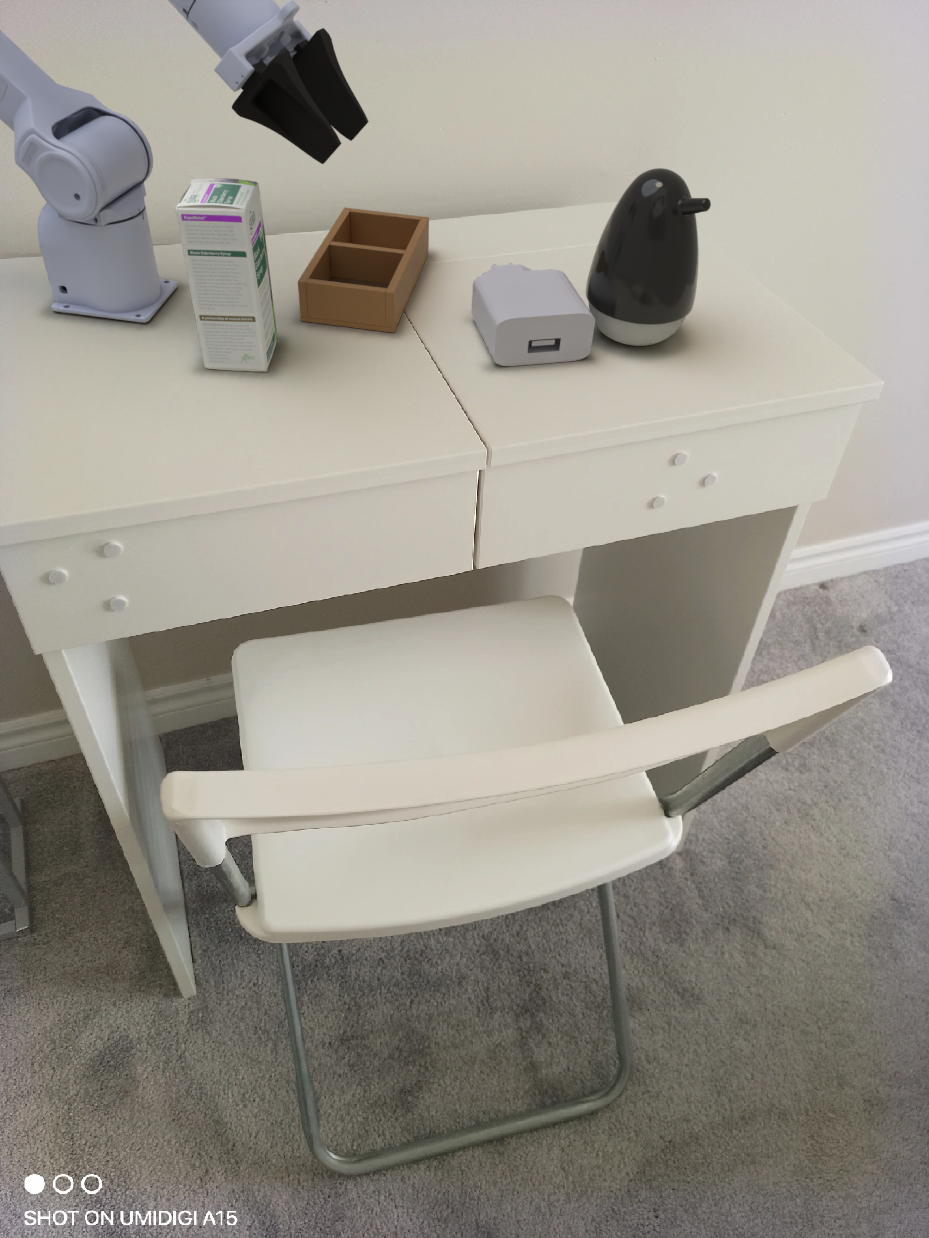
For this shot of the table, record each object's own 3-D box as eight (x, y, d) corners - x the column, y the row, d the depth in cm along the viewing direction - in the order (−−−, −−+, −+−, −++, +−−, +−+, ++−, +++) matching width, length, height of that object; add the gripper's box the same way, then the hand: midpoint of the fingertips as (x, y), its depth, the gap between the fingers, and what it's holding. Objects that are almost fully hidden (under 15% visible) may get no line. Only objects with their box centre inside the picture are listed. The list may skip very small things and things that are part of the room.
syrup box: (268, 373, 84) (250, 207, 74) (201, 370, 84) (173, 203, 74) (278, 340, 88) (262, 179, 78) (214, 337, 88) (189, 175, 78)
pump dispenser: (638, 372, 87) (672, 204, 76) (558, 327, 92) (579, 163, 82) (708, 339, 92) (749, 177, 81) (628, 297, 97) (656, 140, 87)
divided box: (300, 321, 91) (297, 281, 88) (345, 244, 103) (344, 207, 100) (394, 333, 90) (393, 293, 87) (428, 254, 102) (429, 217, 99)
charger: (543, 285, 98) (589, 360, 88) (456, 291, 97) (493, 368, 86) (548, 240, 95) (597, 312, 85) (458, 245, 93) (497, 319, 83)
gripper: (204, -44, 63) (352, 125, 68) (279, -60, 74) (402, 86, 79) (148, 39, 67) (292, 194, 71) (227, 12, 78) (348, 148, 82)
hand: (346, 142), depth 75 cm, fingers open, 7 cm apart
